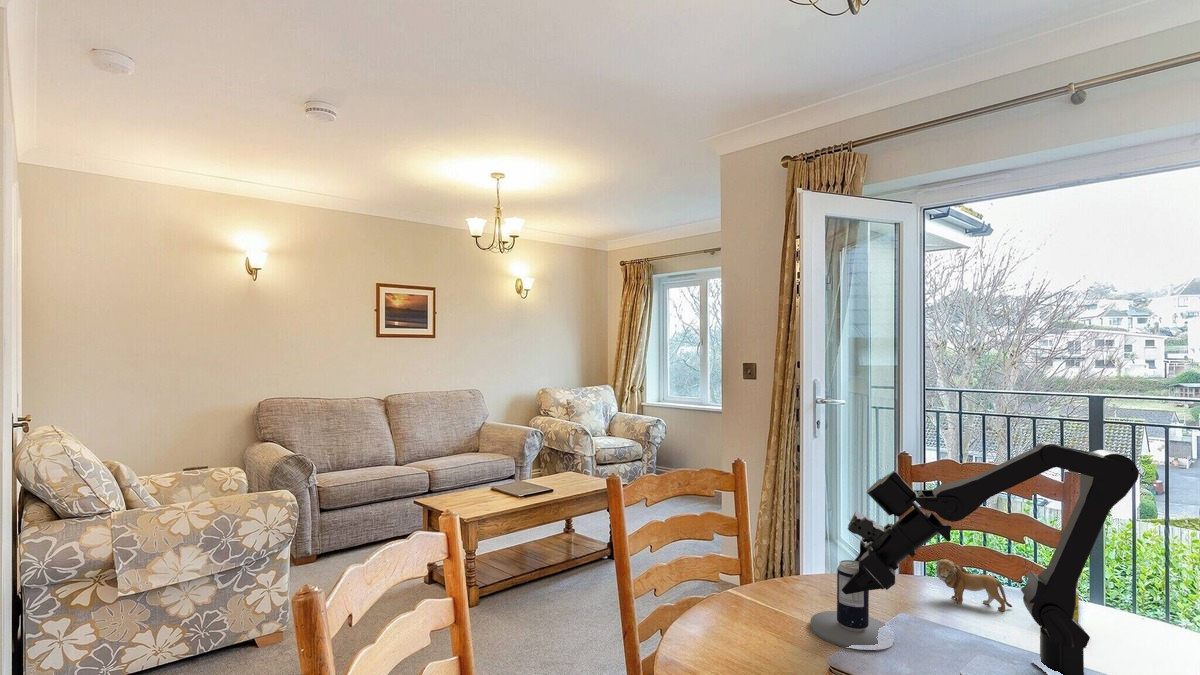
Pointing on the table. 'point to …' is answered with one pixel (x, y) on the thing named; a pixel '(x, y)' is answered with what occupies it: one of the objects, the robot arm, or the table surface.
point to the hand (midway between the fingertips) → (844, 584)
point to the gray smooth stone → (843, 630)
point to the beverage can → (851, 600)
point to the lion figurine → (969, 583)
